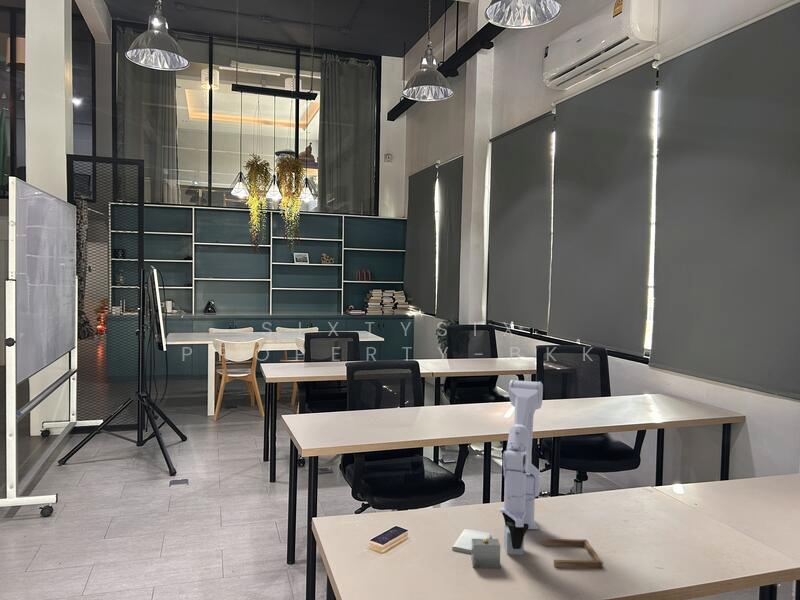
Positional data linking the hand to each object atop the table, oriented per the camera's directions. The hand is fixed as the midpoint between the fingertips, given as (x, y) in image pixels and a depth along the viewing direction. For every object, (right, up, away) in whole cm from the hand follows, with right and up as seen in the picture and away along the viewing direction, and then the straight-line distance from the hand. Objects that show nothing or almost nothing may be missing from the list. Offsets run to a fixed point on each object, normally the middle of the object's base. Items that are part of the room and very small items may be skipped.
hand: (513, 541), depth 157 cm
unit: (-9, -3, -8) cm, 12 cm away
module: (0, -3, 0) cm, 3 cm away
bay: (+15, -3, -2) cm, 15 cm away
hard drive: (-11, -3, +4) cm, 12 cm away
